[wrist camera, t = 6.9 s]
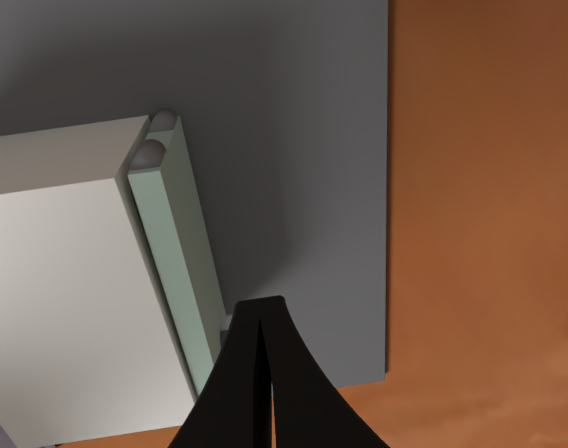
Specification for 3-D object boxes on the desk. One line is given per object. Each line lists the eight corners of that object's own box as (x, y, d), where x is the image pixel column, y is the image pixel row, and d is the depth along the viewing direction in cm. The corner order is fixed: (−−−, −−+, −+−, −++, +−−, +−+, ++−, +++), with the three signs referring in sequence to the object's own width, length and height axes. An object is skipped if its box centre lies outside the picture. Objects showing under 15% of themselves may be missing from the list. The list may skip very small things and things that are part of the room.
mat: (383, 375, 29) (384, 380, 28) (76, 421, 28) (74, 427, 28) (385, -130, 15) (389, -132, 15) (-206, -51, 15) (-217, -51, 14)
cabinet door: (242, 319, 24) (243, 405, 20) (209, 324, 24) (202, 411, 20) (196, 102, 18) (182, 153, 13) (152, 107, 18) (122, 161, 13)
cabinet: (208, 324, 25) (200, 422, 19) (64, 346, 24) (19, 449, 19) (148, 115, 18) (114, 178, 13) (-46, 142, 18) (-157, 216, 13)
